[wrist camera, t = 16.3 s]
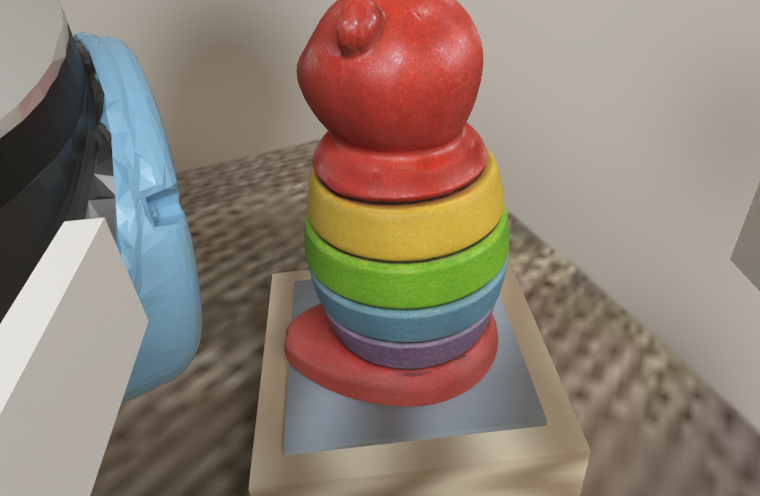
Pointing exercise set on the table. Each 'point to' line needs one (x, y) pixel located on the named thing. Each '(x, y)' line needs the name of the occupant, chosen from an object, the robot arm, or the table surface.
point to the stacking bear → (399, 207)
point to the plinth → (417, 422)
